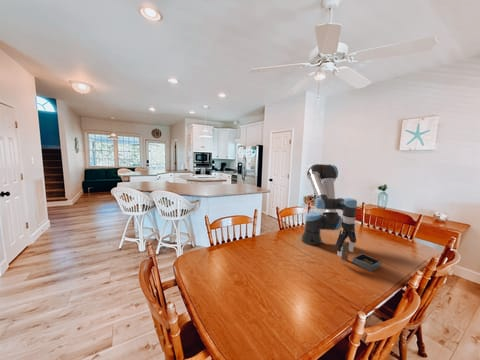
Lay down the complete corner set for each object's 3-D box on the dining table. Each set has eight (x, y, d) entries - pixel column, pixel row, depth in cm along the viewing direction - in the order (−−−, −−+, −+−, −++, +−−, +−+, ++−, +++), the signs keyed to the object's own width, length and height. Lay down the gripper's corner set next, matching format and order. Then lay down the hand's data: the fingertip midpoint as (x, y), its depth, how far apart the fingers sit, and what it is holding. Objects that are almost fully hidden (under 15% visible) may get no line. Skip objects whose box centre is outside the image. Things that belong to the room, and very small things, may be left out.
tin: (352, 262, 131) (352, 257, 130) (361, 258, 137) (362, 253, 136) (371, 271, 121) (372, 266, 120) (380, 266, 127) (381, 261, 127)
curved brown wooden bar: (341, 258, 135) (343, 241, 134) (343, 258, 137) (344, 241, 135) (345, 260, 133) (347, 243, 132) (347, 260, 134) (349, 242, 133)
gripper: (343, 227, 122) (339, 260, 124) (364, 221, 135) (360, 251, 138) (331, 223, 128) (328, 255, 130) (352, 218, 142) (349, 247, 144)
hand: (345, 253), depth 134 cm, fingers open, 13 cm apart
